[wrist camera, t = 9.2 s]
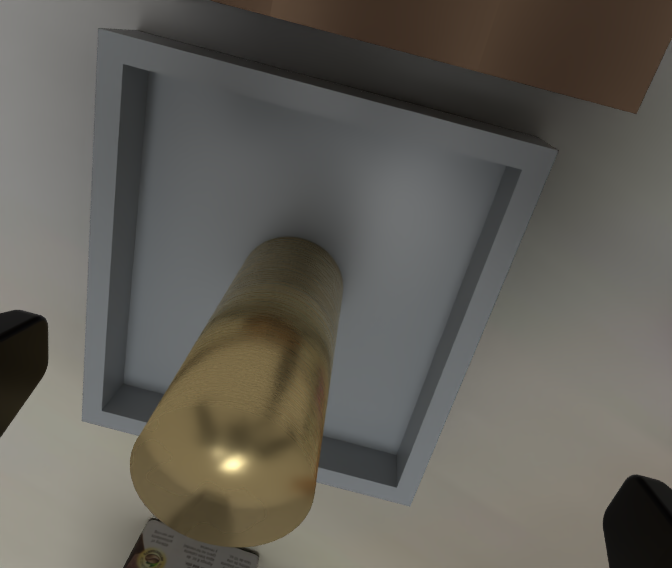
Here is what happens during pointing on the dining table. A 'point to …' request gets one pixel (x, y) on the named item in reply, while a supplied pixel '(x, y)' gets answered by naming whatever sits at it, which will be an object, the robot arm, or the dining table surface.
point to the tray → (297, 221)
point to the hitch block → (509, 38)
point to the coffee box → (183, 551)
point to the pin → (248, 404)
